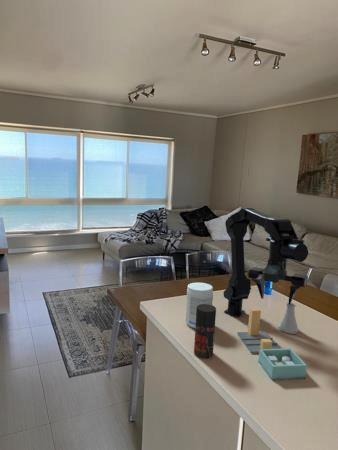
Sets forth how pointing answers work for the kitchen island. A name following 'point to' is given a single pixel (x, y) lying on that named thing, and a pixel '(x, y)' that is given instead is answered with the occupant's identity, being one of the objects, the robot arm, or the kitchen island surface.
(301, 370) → the tub
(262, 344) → the gray board with blocks
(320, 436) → the kitchen island surface
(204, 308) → the deodorant
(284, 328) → the flask
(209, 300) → the supplement tub
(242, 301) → the robot arm
